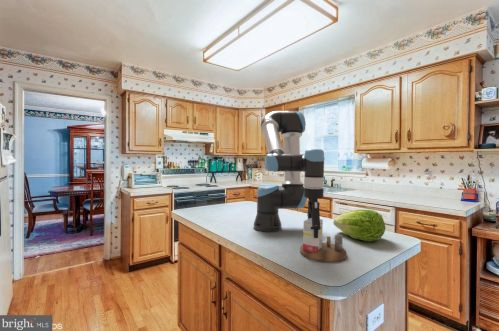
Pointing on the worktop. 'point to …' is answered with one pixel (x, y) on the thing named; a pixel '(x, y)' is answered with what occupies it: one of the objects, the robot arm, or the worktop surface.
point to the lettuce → (361, 224)
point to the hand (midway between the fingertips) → (312, 240)
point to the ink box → (308, 236)
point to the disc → (328, 251)
